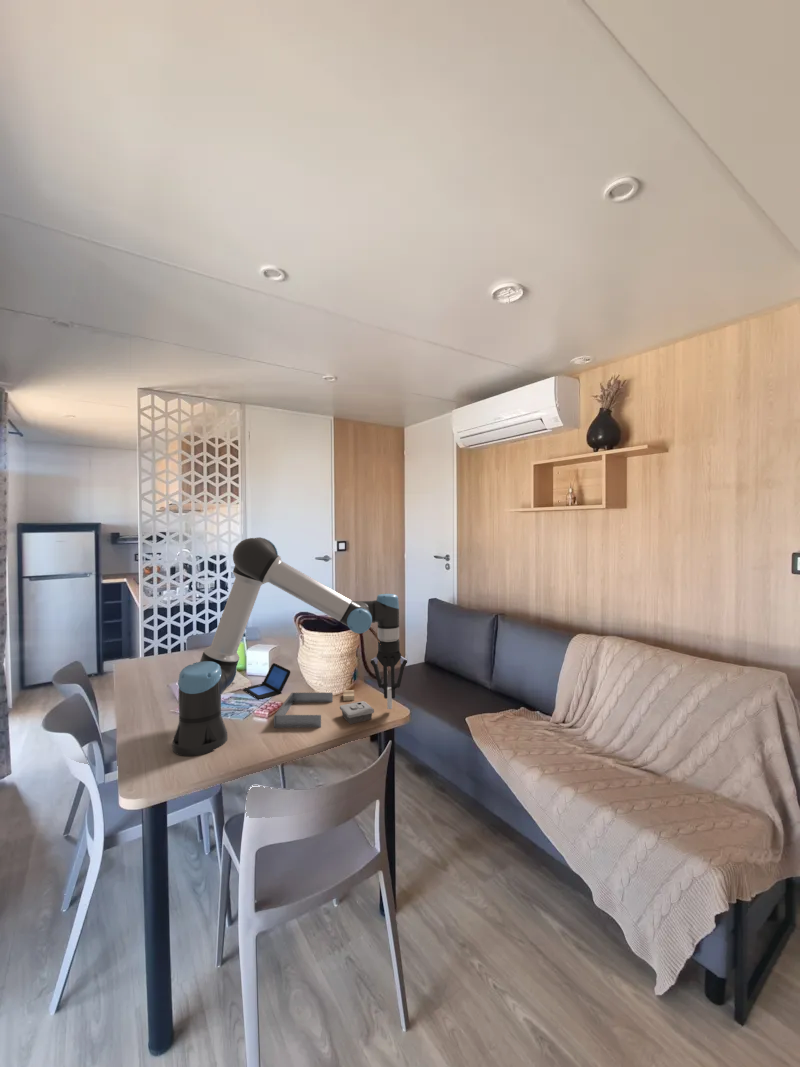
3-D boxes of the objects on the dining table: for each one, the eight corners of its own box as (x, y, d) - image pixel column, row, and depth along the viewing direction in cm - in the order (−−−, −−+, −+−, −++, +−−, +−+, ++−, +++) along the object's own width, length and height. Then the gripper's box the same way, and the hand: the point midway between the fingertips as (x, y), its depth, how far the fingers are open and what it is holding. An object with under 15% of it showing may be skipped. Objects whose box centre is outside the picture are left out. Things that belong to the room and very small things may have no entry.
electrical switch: (364, 700, 159) (374, 704, 151) (365, 715, 158) (375, 720, 150) (338, 705, 155) (347, 709, 147) (339, 721, 154) (349, 726, 146)
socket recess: (320, 728, 146) (320, 715, 146) (273, 728, 146) (273, 715, 146) (332, 703, 167) (332, 692, 167) (291, 703, 168) (291, 692, 168)
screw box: (354, 703, 167) (354, 695, 167) (343, 704, 167) (343, 696, 167) (354, 697, 173) (354, 690, 173) (343, 698, 173) (343, 690, 173)
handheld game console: (242, 691, 181) (242, 668, 181) (273, 684, 190) (273, 662, 190) (259, 702, 170) (259, 677, 170) (291, 693, 179) (291, 670, 179)
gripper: (407, 636, 159) (408, 703, 159) (370, 636, 160) (371, 703, 160) (407, 641, 152) (408, 711, 152) (368, 641, 152) (369, 711, 152)
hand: (389, 707), depth 156 cm, fingers closed
